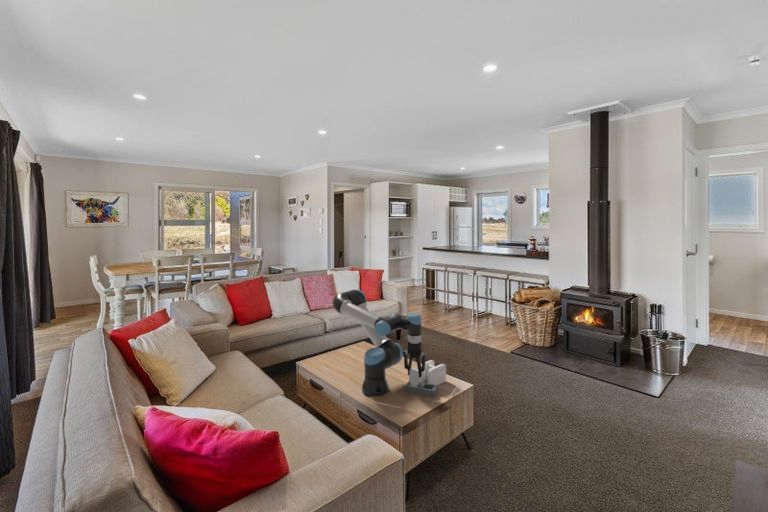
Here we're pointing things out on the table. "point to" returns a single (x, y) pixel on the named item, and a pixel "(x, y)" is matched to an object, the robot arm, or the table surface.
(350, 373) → the table surface
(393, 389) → the table surface
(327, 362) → the table surface
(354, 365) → the table surface
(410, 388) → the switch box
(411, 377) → the plug
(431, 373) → the cable organizer
